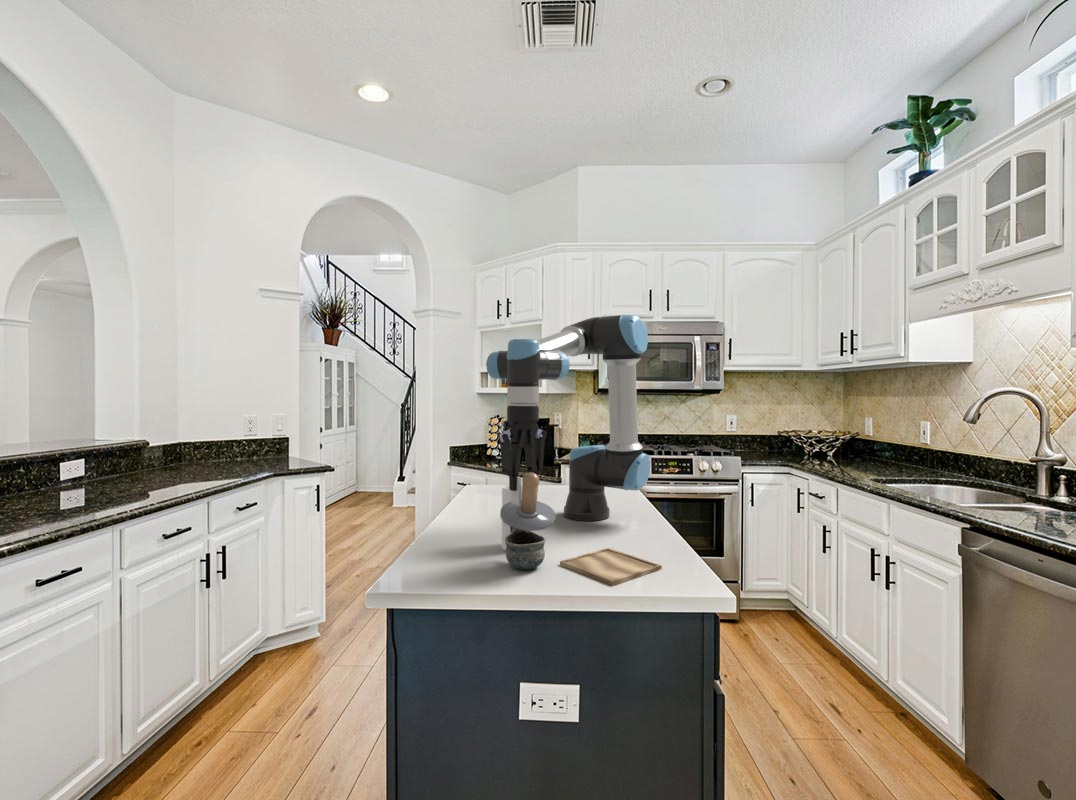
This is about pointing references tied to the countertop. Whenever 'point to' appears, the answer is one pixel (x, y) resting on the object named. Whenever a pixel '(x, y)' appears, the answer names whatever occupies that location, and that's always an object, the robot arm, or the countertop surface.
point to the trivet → (610, 566)
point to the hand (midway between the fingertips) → (522, 502)
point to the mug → (524, 549)
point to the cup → (505, 499)
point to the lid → (528, 508)
